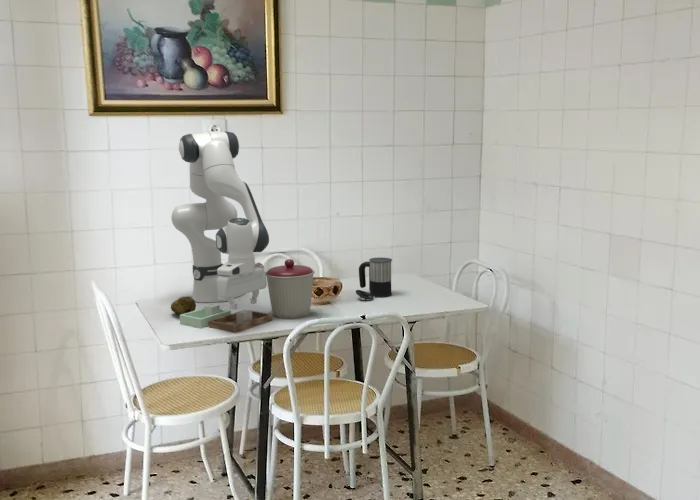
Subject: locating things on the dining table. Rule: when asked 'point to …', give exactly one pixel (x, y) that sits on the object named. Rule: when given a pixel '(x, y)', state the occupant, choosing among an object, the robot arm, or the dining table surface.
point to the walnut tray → (231, 324)
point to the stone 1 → (211, 310)
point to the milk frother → (376, 278)
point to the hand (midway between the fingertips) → (243, 306)
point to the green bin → (200, 318)
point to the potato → (183, 305)
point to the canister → (290, 289)
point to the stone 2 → (243, 316)
